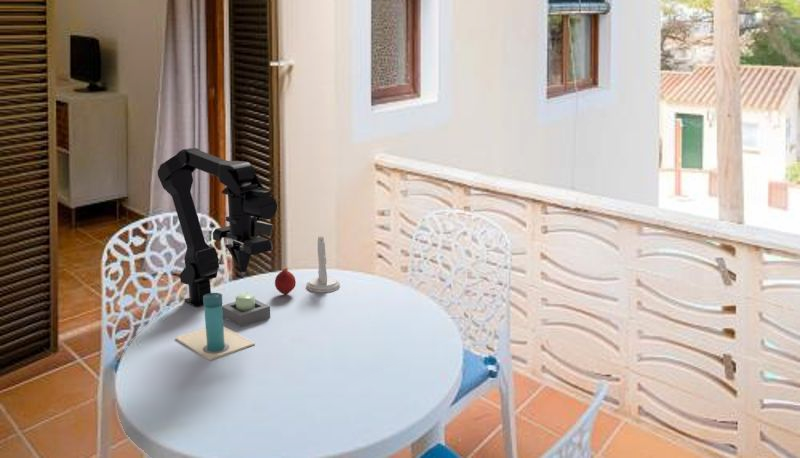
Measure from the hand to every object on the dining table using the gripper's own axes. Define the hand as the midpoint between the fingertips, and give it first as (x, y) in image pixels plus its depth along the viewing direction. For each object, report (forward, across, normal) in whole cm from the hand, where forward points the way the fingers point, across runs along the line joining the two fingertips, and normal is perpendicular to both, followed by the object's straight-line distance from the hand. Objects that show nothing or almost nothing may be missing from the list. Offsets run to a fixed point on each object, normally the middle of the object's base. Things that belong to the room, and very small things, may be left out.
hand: (243, 271), depth 181 cm
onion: (+13, +6, -17) cm, 22 cm away
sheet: (+12, -8, +14) cm, 20 cm away
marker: (+12, -12, +16) cm, 23 cm away
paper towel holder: (+13, +4, -29) cm, 32 cm away
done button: (+10, 0, 0) cm, 10 cm away
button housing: (+12, 0, 0) cm, 12 cm away
